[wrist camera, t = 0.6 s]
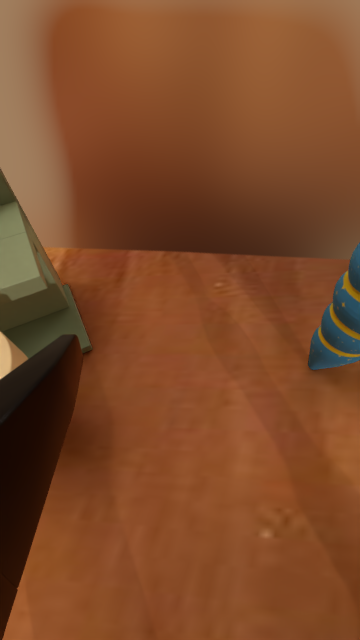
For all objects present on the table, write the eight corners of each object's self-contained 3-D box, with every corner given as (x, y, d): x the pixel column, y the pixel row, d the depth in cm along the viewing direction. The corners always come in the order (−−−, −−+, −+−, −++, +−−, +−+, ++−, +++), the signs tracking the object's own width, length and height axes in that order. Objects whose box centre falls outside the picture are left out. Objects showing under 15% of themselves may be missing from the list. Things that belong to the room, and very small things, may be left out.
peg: (63, 475, 20) (-28, 458, 11) (-17, 463, 20) (-168, 437, 12) (88, 393, 23) (31, 327, 14) (18, 383, 23) (-81, 313, 14)
